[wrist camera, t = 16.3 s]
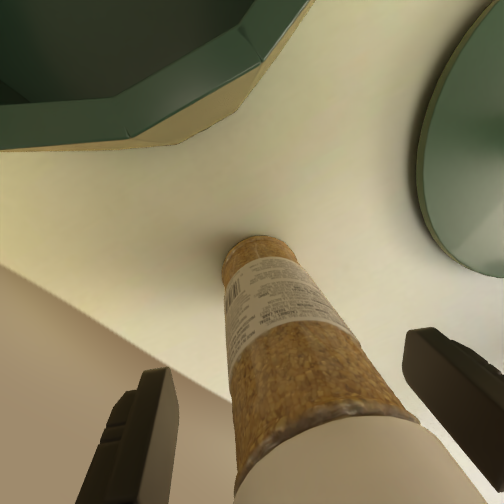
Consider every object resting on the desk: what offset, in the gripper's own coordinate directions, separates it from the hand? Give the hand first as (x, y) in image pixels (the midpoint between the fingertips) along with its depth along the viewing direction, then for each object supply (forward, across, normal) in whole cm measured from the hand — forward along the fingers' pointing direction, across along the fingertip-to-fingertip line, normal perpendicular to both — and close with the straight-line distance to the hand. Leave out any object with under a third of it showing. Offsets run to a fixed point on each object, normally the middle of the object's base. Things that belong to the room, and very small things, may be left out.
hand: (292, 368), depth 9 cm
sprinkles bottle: (+8, 0, 0) cm, 8 cm away
